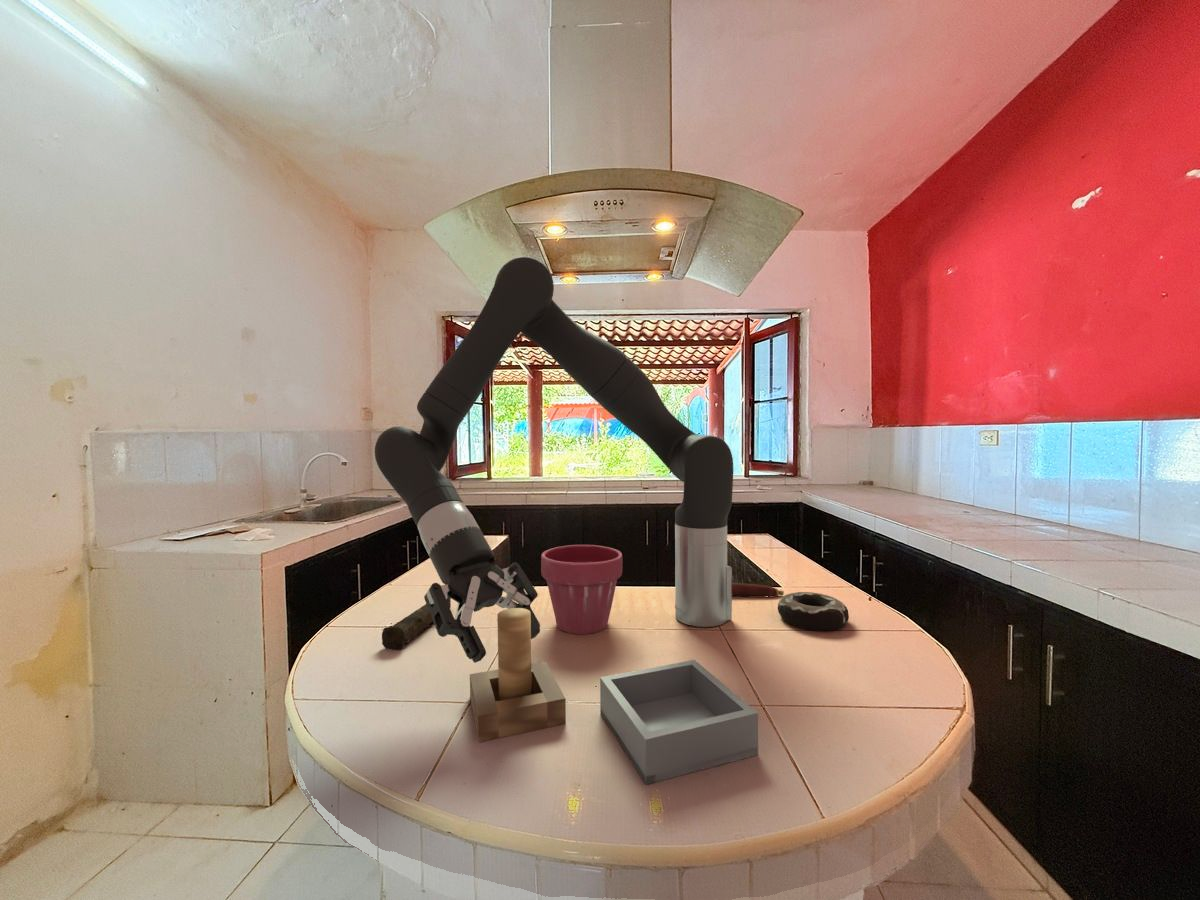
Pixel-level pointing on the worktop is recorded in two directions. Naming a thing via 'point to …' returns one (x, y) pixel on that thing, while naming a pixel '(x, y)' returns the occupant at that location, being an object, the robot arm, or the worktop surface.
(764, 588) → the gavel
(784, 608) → the donut
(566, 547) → the plant pot
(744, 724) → the tray
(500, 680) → the dowel
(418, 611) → the hand tool
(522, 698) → the socket block
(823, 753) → the worktop surface
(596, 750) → the worktop surface
